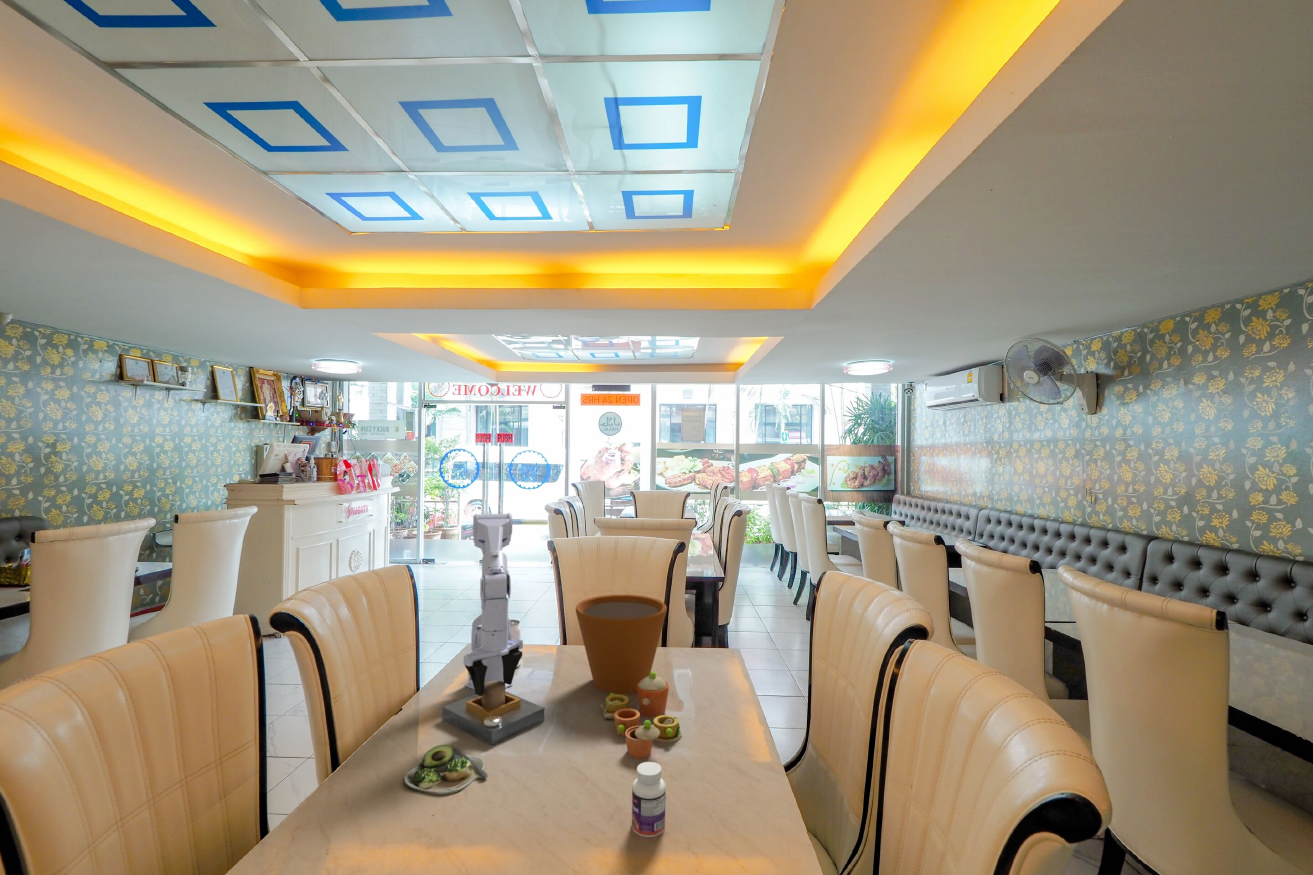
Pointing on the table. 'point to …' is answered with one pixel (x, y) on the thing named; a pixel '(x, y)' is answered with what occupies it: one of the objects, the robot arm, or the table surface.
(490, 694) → the walnut peg
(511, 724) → the gray peg socket base
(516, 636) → the can
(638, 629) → the flower pot
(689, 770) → the table surface
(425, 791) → the salad plate
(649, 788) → the pill bottle
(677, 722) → the toy tea set
